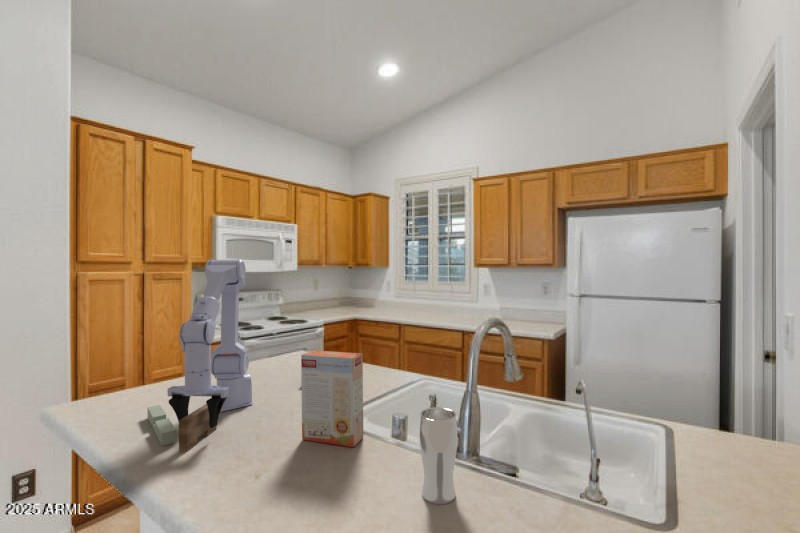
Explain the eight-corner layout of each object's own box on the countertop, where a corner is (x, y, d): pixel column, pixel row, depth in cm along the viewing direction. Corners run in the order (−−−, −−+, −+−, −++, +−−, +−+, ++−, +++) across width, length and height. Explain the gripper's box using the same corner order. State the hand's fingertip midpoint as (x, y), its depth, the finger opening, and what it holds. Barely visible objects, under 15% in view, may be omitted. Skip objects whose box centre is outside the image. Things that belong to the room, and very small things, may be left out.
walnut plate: (208, 429, 103) (208, 402, 103) (216, 429, 103) (216, 402, 103) (179, 451, 91) (178, 420, 91) (187, 451, 91) (187, 420, 91)
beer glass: (417, 485, 76) (417, 407, 76) (453, 483, 77) (452, 406, 77) (422, 507, 70) (422, 421, 69) (461, 505, 70) (461, 420, 70)
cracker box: (364, 437, 97) (363, 352, 97) (353, 448, 92) (352, 358, 91) (314, 430, 102) (313, 348, 102) (301, 440, 96) (300, 354, 96)
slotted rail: (160, 415, 112) (159, 404, 112) (176, 442, 96) (176, 429, 96) (147, 418, 111) (147, 407, 110) (161, 445, 94) (161, 433, 94)
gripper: (158, 373, 93) (159, 431, 93) (217, 375, 92) (218, 433, 92) (177, 366, 100) (178, 419, 101) (233, 367, 99) (233, 421, 99)
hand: (198, 425), depth 97 cm, fingers open, 7 cm apart
